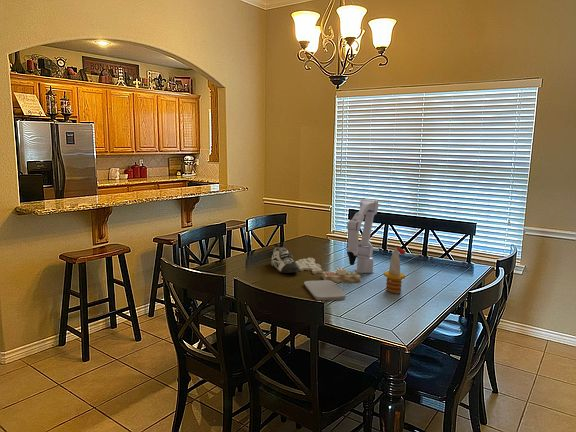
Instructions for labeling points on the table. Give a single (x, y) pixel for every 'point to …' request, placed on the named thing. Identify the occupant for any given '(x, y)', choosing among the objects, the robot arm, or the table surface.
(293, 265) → the training shoe
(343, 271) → the cream studded block
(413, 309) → the table surface
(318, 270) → the decorative sign
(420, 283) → the table surface
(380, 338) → the table surface
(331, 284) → the tablet
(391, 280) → the toy
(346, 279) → the button board
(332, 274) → the button
